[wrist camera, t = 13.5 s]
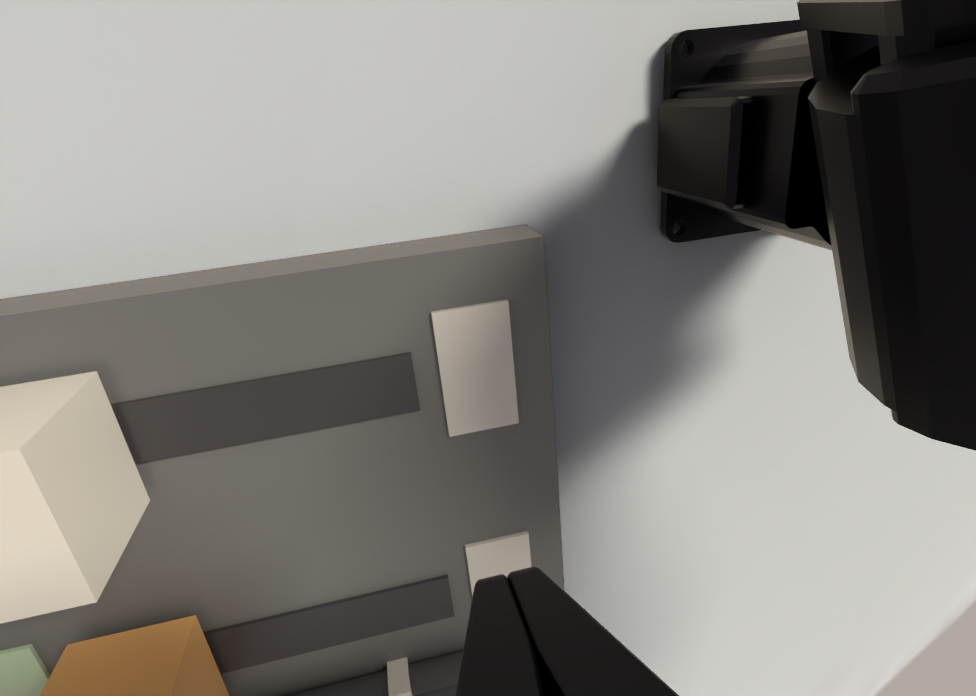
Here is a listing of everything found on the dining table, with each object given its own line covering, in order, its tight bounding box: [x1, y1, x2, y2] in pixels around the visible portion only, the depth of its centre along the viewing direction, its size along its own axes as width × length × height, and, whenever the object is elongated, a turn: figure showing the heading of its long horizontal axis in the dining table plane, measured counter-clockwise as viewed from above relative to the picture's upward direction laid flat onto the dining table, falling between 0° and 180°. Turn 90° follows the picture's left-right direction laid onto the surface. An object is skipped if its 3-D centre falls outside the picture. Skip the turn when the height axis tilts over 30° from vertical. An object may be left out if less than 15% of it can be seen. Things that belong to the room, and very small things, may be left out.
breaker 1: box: [0, 371, 150, 624], centre depth 14 cm, size 4×4×4 cm
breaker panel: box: [0, 224, 564, 696], centre depth 20 cm, size 22×18×2 cm
